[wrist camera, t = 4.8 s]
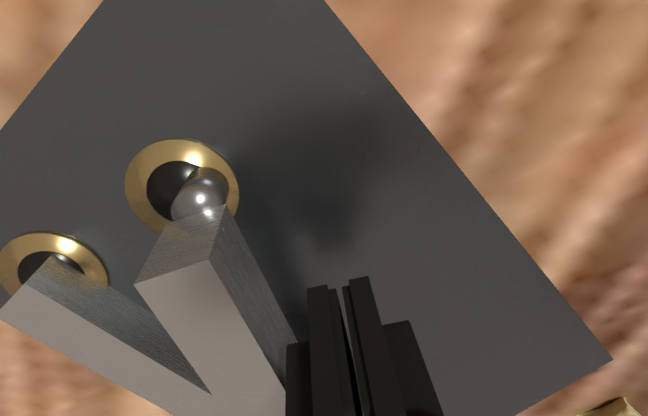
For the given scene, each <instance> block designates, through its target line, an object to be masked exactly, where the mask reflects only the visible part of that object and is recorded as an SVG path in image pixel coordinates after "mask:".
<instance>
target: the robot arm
mask: <svg viewBox="0 0 648 416" xmlns="http://www.w3.org/2000/svg"><path fill="white" fill-rule="evenodd" d="M348 281H349V285H348V286H343V287H342V293H343V298H344V304H345V310H346V316H347V321H348V327H349V333H350V339H351V345H352V350H353V356H354V362H355V366H354V362H353V357H352V353H351V349H350V344H349V340H348V336H347V332H346V328H345V324H344V319H343V315H342V311H341V307H340V303H339V298H338V294H337V290H336V288H334V289H328V286H327V284H326V285H321V286H316V287H311V288H307V306H308V325H309V340H307V341H302V342H297V343H292V344H287V348H286V395H285V416H363V413H364V416H444V414H443V411H442V409H441V406H440V403H439V400H438V398H437V395H436V392H435V389H434V387H433V384H432V381H431V378H430V376H429V373H428V370H427V367H426V365H425V362H424V359H423V356H422V354H421V351H420V348H419V345H418V343H417V340H416V337H415V334H414V332H413V329H412V326H411V324H410V322H409V320H405V321H400V322H395V323H390V324H385V325H382V323H381V320H380V316H379V313H378V309H377V305H376V302H375V298H374V294H373V291H372V287H371V284H370V280H369V277H368V276H364V277H359V278H354V279H350V280H348ZM355 368H356V372H355ZM356 374H357V378H356ZM357 379H358V383H357ZM358 385H359V389H358ZM359 391H360V395H359ZM360 397H361V401H360ZM361 402H362V407H361ZM362 408H363V413H362Z"/></svg>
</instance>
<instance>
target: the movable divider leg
mask: <svg viewBox="0 0 648 416" xmlns="http://www.w3.org/2000/svg"><path fill="white" fill-rule="evenodd" d="M229 190H230V187H229V182H228V180H227V178H226V177H225V176H224V175H223V174H222V173H221V172H220V171H218V170H216V169H214V168H210V167H201V168H198V169H195V170H194V171H192V172H191V173H190V174H189V176H188V177H187V179H186V181H185V183H184V184H183V186H182V188H181V189H180V191H179V193H178V195H177V196H176V198H175V200H174V202H173V204H172V206H171V216H172V219H173V221H174V222H171V223H168V224H166V226H165V228H164V230H163V231H162V233H161V235H160V237H159V239H158V240H157V242H156V244H155V246H154V248H153V250H152V251H151V253H150V255H149V257H148V259H147V261H146V262H145V264H144V266H143V268H142V270H141V271H140V273H139V275H138V277H137V279H136V281H135V282H134V284H133V285H134V286H135V288H136V289H137V290H138V292H139V293H140V295H141V296H142V297H143V299H144V300H145V302H146V303H147V304H148V306H149V307H150V309H151V310H152V311H153V313H154V314H155V316H156V317H157V318H158V320H159V321H160V322H161V324H162V325H163V327H164V328H165V329H166V331H167V332H168V334H169V335H170V336H171V338H172V339H173V341H174V342H175V343H176V345H177V346H178V348H179V349H180V350H181V352H182V353H183V355H184V356H185V357H186V359H187V360H188V361H189V363H190V364H191V366H192V367H193V368H194V370H195V371H196V373H197V374H198V375H199V377H200V378H201V380H202V381H203V382H204V384H205V385H206V387H207V388H208V389H209V391H210V392H211V394H212V395H213V396H214V398H215V399H216V401H217V402H218V403H219V405H220V406H221V407H222V409H223V410H224V412H225V413H226V414H227V416H285V395H286V348H287V344H292V343H297V340H296V338H295V336H294V334H293V332H292V330H291V328H290V326H289V324H288V322H287V320H286V318H285V316H284V315H283V313H282V311H281V309H280V307H279V305H278V303H277V301H276V299H275V297H274V295H273V293H272V291H271V289H270V287H269V286H268V284H267V282H266V280H265V278H264V276H263V274H262V272H261V270H260V268H259V266H258V264H257V262H256V260H255V258H254V257H253V255H252V253H251V251H250V249H249V247H248V245H247V243H246V241H245V239H244V237H243V235H242V233H241V231H240V229H239V228H238V226H237V224H236V222H235V220H234V218H233V216H232V214H231V212H230V210H229V208H228V206H227V204H226V201H227V198H228V194H229Z"/></svg>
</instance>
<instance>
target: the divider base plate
mask: <svg viewBox="0 0 648 416" xmlns="http://www.w3.org/2000/svg"><path fill="white" fill-rule="evenodd" d="M201 167H210V168H214V169H216V170H218V171H220V172H221V173H222V174H223V175H224V176H225V177H226V178H227V180H228V182H229V187H230V190H229V194H228V198H227V201H226V204H227V206H228V208H229V210H230V212H231V214H232V216H233V218H234V220H235V222H236V224H237V226H238V228H239V229H240V231H241V233H242V235H243V237H244V239H245V241H246V243H247V245H248V247H249V249H250V251H251V253H252V255H253V257H254V258H255V260H256V262H257V264H258V266H259V268H260V270H261V272H262V274H263V276H264V278H265V280H266V282H267V284H268V286H269V287H270V289H271V291H272V293H273V295H274V297H275V299H276V301H277V303H278V305H279V307H280V309H281V311H282V313H283V315H284V316H285V318H286V320H287V322H288V324H289V326H290V328H291V330H292V332H293V334H294V336H295V338H296V340H297V342H302V341H307V340H309V325H308V306H307V288H311V287H316V286H321V285H326V284H327V286H328V289H334V288H336V290H337V294H338V298H339V303H340V307H341V311H342V315H343V319H344V324H345V328H346V332H347V336H348V340H349V344H350V349H351V353H352V357H353V362H354V356H353V350H352V345H351V339H350V333H349V327H348V321H347V316H346V310H345V304H344V298H343V293H342V287H343V286H348V285H349V281H348V280H350V279H354V278H359V277H364V276H368V277H369V280H370V284H371V287H372V291H373V294H374V298H375V302H376V305H377V309H378V313H379V316H380V320H381V323H382V325H385V324H390V323H395V322H400V321H405V320H409V322H410V324H411V326H412V329H413V332H414V334H415V337H416V340H417V343H418V345H419V348H420V351H421V354H422V356H423V359H424V362H425V365H426V367H427V370H428V373H429V376H430V378H431V381H432V384H433V387H434V389H435V392H436V395H437V398H438V400H439V403H440V406H441V409H442V411H443V414H444V416H515V415H516V414H518V413H520V412H522V411H523V410H525V409H527V408H529V407H530V406H532V405H534V404H536V403H538V402H539V401H541V400H543V399H545V398H546V397H548V396H550V395H552V394H553V393H555V392H557V391H559V390H560V389H562V388H564V387H566V386H568V385H569V384H571V383H573V382H575V381H576V380H578V379H580V378H582V377H583V376H585V375H587V374H589V373H590V372H592V371H594V370H596V369H597V368H599V367H601V366H603V365H605V364H606V363H608V362H610V361H612V360H613V358H612V357H611V356H610V354H609V353H608V352H607V351H606V349H605V348H604V347H603V346H602V344H601V343H600V342H599V341H598V339H597V338H596V337H595V336H594V335H593V333H592V332H591V331H590V330H589V328H588V327H587V326H586V325H585V323H584V322H583V321H582V320H581V318H580V317H579V316H578V315H577V313H576V312H575V311H574V310H573V308H572V307H571V306H570V305H569V304H568V302H567V301H566V300H565V299H564V297H563V296H562V295H561V294H560V292H559V291H558V290H557V289H556V287H555V286H554V285H553V284H552V282H551V281H550V280H549V279H548V277H547V276H546V275H545V274H544V273H543V271H542V270H541V269H540V268H539V266H538V265H537V264H536V263H535V261H534V260H533V259H532V258H531V256H530V255H529V254H528V253H527V251H526V250H525V249H524V248H523V246H522V245H521V244H520V243H519V242H518V240H517V239H516V238H515V237H514V235H513V234H512V233H511V232H510V230H509V229H508V228H507V227H506V225H505V224H504V223H503V222H502V220H501V219H500V218H499V217H498V215H497V214H496V213H495V212H494V210H493V209H492V208H491V207H490V206H489V204H488V203H487V202H486V201H485V199H484V198H483V197H482V196H481V194H480V193H479V192H478V191H477V189H476V188H475V187H474V186H473V184H472V183H471V182H470V181H469V179H468V178H467V177H466V176H465V175H464V173H463V172H462V171H461V170H460V168H459V167H458V166H457V165H456V163H455V162H454V161H453V160H452V158H451V157H450V156H449V155H448V153H447V152H446V151H445V150H444V148H443V147H442V146H441V145H440V144H439V142H438V141H437V140H436V139H435V137H434V136H433V135H432V134H431V132H430V131H429V130H428V129H427V127H426V126H425V125H424V124H423V122H422V121H421V120H420V119H419V117H418V116H417V115H416V114H415V113H414V111H413V110H412V109H411V108H410V106H409V105H408V104H407V103H406V101H405V100H404V99H403V98H402V96H401V95H400V94H399V93H398V91H397V90H396V89H395V88H394V86H393V85H392V84H391V83H390V82H389V80H388V79H387V78H386V77H385V75H384V74H383V73H382V72H381V70H380V69H379V68H378V67H377V65H376V64H375V63H374V62H373V60H372V59H371V58H370V57H369V55H368V54H367V53H366V52H365V51H364V49H363V48H362V47H361V46H360V44H359V43H358V42H357V41H356V39H355V38H354V37H353V36H352V34H351V33H350V32H349V31H348V29H347V28H346V27H345V26H344V24H343V23H342V22H341V21H340V19H339V18H338V17H337V16H336V15H335V13H334V12H333V11H332V10H331V8H330V7H329V6H328V5H327V3H326V2H325V1H324V0H104V1H103V2H102V3H101V4H100V6H99V7H98V8H97V9H96V11H95V12H94V13H93V14H92V16H91V17H90V18H89V19H88V21H87V22H86V23H85V24H84V26H83V27H82V28H81V29H80V31H79V32H78V33H77V35H76V36H75V37H74V38H73V40H72V41H71V42H70V43H69V45H68V46H67V47H66V48H65V50H64V51H63V52H62V53H61V55H60V56H59V57H58V58H57V60H56V61H55V62H54V63H53V65H52V66H51V67H50V68H49V70H48V71H47V72H46V74H45V75H44V76H43V77H42V79H41V80H40V81H39V82H38V84H37V85H36V86H35V87H34V89H33V90H32V91H31V92H30V94H29V95H28V96H27V97H26V99H25V100H24V101H23V102H22V104H21V105H20V106H19V107H18V109H17V110H16V111H15V113H14V114H13V115H12V116H11V118H10V119H9V120H8V121H7V123H6V124H5V125H4V126H3V128H2V129H1V130H0V320H2V321H3V322H5V323H7V324H9V325H11V326H13V327H14V328H16V329H18V330H20V331H22V332H24V333H25V334H27V335H29V336H31V337H33V338H34V339H36V340H38V341H40V342H42V343H44V344H45V345H47V346H49V347H51V348H53V349H55V350H56V351H58V352H60V353H62V354H64V355H66V356H67V357H69V358H71V359H73V360H75V361H76V362H78V363H80V364H82V365H84V366H86V367H87V368H89V369H91V370H93V371H95V372H97V373H98V374H100V375H102V376H104V377H106V378H107V379H109V380H111V381H113V382H115V383H117V384H118V385H120V386H122V387H124V388H126V389H128V390H129V391H131V392H133V393H135V394H137V395H138V396H140V397H142V398H144V399H146V400H148V401H149V402H151V403H153V404H155V405H157V406H159V407H160V408H162V409H164V410H166V411H168V412H169V413H171V414H173V415H175V416H227V414H226V413H225V412H224V410H223V409H222V407H221V406H220V405H219V403H218V402H217V401H216V399H215V398H214V396H213V395H212V394H211V392H210V391H209V389H208V388H207V387H206V385H205V384H204V382H203V381H202V380H201V378H200V377H199V375H198V374H197V373H196V371H195V370H194V368H193V367H192V366H191V364H190V363H189V361H188V360H187V359H186V357H185V356H184V355H183V353H182V352H181V350H180V349H179V348H178V346H177V345H176V343H175V342H174V341H173V339H172V338H171V336H170V335H169V334H168V332H167V331H166V329H165V328H164V327H163V325H162V324H161V322H160V321H159V320H158V318H157V317H156V316H155V314H154V313H153V311H152V310H151V309H150V307H149V306H148V304H147V303H146V302H145V300H144V299H143V297H142V296H141V295H140V293H139V292H138V290H137V289H136V288H135V286H134V285H133V284H134V282H135V281H136V279H137V277H138V275H139V273H140V271H141V270H142V268H143V266H144V264H145V262H146V261H147V259H148V257H149V255H150V253H151V251H152V250H153V248H154V246H155V244H156V242H157V240H158V239H159V237H160V235H161V233H162V231H163V230H164V228H165V226H166V224H168V223H171V222H174V221H173V219H172V216H171V206H172V204H173V202H174V200H175V198H176V196H177V195H178V193H179V191H180V189H181V188H182V186H183V184H184V183H185V181H186V179H187V177H188V176H189V174H190V173H191V172H192V171H194V170H195V169H198V168H201ZM354 366H355V362H354ZM355 372H356V368H355ZM356 378H357V374H356ZM357 383H358V379H357ZM358 389H359V385H358ZM359 395H360V391H359ZM360 401H361V397H360ZM361 407H362V402H361ZM362 413H363V408H362ZM363 416H364V413H363Z"/></svg>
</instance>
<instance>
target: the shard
mask: <svg viewBox="0 0 648 416" xmlns="http://www.w3.org/2000/svg"><path fill="white" fill-rule="evenodd" d="M576 416H641V415H640V413H638V412H637V411H635V410H634V408H633V407H631V406H630V405H629V404H628V402H627V401H626V398H624V397H620V398H618V399H617V400H615V401H613V402H611V403H610V404H608V405H606V406H604V407H602V408H600V409H596V410H592V411H589V412H586V413H583V414H579V415H576Z"/></svg>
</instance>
